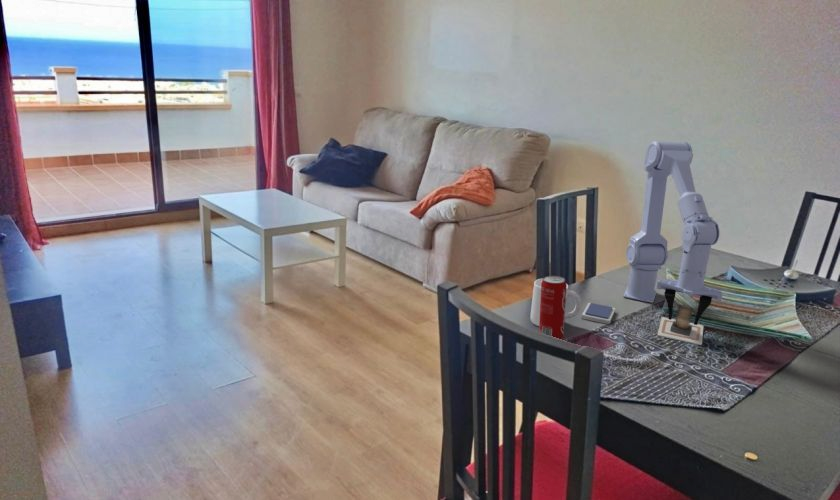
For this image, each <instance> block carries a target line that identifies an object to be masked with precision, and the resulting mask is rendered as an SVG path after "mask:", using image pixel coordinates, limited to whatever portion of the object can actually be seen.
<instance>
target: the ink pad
mask: <svg viewBox="0 0 840 500" xmlns="http://www.w3.org/2000/svg"><path fill="white" fill-rule="evenodd" d="M615 312H616V308H615V307H612V306H608V305H603V304H599V303H593V302H588V303H587V305H586V307H585V309H584V311H582V313H581V319H583V320H588V321H592V322H597V323H601V324H606V325H610V323H611V322H612V319H613V317H614V315H615Z"/></svg>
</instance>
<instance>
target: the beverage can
mask: <svg viewBox="0 0 840 500" xmlns="http://www.w3.org/2000/svg"><path fill="white" fill-rule="evenodd" d="M566 284H567V282H566V279H565V277H562V276H561V275H560V276H559V275H547V276H544V277H543V281H542V283H541V300H540V321H539V326H538V328H539V329H538V333H539V332H541V333H544V334H546V335H549V336H553V337H556V338H559V339H562V340H563V339H564V336H565V335H564V334H565V319H566V318H565V313H566V308H565V304H566V305H567V301H566V287H567V285H568V284H567V285H566Z"/></svg>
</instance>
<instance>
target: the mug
mask: <svg viewBox="0 0 840 500" xmlns="http://www.w3.org/2000/svg"><path fill="white" fill-rule="evenodd" d="M543 278H544V277H543ZM543 278H538V279H536V280H534V283H533V291H532V299H531V307H530V316H529V317H530V321H531V323H532V324H534V325H535V326H537V327H539V321H540V300H541V283H542V281H543ZM566 285H567V287H566V302H567V300H568V299H567V298H569V297H571V298H573V299H574V302H575V306H574V309H573V310H572V311H570V312H565V319H571V318H574V317H576V316H577V315H578V314H579V312H580V310H581V309H582V308H581V307H582V300H581V297H580V296H579V294H578V293H577V292H575V291H572V290H569V284H568V283H566ZM566 307H567V303H566V304H565V309H566Z"/></svg>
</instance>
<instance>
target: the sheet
mask: <svg viewBox="0 0 840 500" xmlns="http://www.w3.org/2000/svg"><path fill="white" fill-rule="evenodd" d="M668 318H669V317H665V316H661V319H660V322H659V328H658V330H657V335H656V336H657V337H662V338H667V339H670V340H674V341H675V340H676V341H680V342H684V343H690V344H694V345H698V346H702V345H703V334H704V325H702V324H698V323H697V325H694V322H690V325H692V330H691V332H690V335H689V336H687V335H683V334H679V333H675V332H671V331H670V329H671V326H672V324H673V322H674V321H676V318H672V319H671V320H670V319H668Z"/></svg>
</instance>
